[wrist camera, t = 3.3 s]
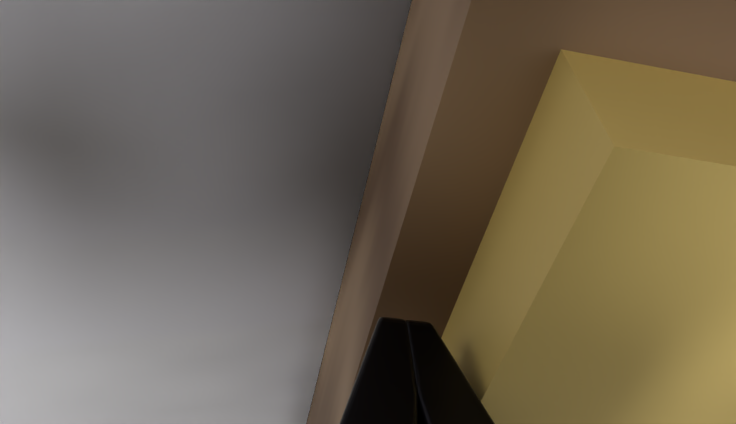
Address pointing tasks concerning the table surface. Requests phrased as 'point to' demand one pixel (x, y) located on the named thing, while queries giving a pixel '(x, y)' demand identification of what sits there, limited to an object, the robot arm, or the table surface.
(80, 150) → the table surface
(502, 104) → the walnut deck
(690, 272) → the ochre block
